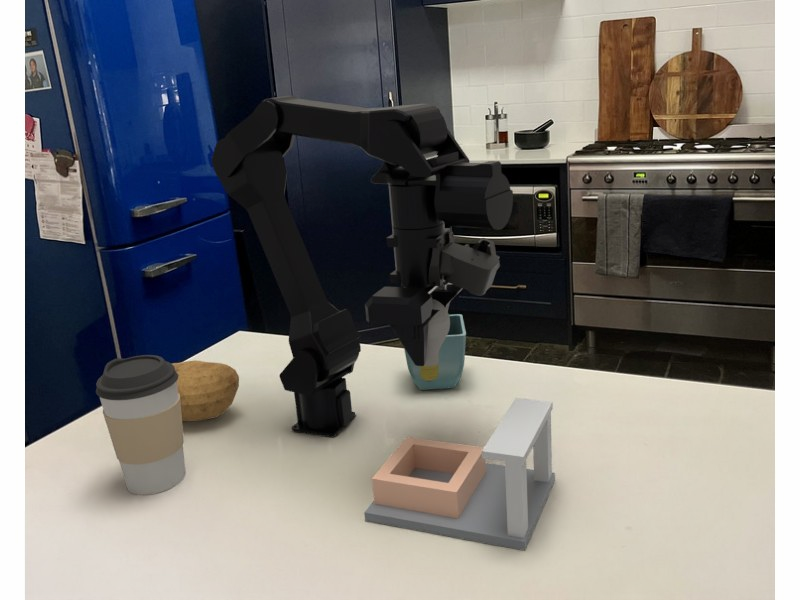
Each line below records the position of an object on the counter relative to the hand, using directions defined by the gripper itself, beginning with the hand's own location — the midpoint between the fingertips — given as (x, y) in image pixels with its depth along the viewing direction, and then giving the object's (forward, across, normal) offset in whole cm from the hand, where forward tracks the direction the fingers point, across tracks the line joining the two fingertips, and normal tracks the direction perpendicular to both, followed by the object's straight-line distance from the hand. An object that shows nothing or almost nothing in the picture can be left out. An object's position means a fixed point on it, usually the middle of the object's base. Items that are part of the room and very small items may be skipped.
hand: (428, 356), depth 89 cm
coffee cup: (+13, -14, +30) cm, 36 cm away
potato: (+13, +1, +36) cm, 38 cm away
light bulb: (+3, 0, 0) cm, 3 cm away
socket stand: (+13, -9, -6) cm, 17 cm away
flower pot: (+13, +20, +7) cm, 24 cm away
